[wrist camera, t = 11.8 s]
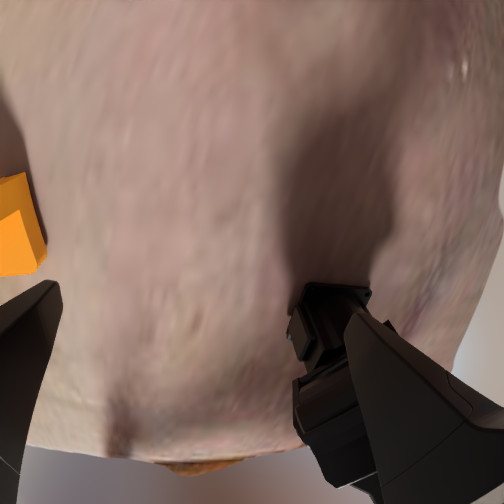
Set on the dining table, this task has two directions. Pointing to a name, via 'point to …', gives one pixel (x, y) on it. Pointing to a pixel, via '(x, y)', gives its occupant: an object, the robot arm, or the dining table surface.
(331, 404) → the robot arm
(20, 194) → the bracket
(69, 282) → the dining table surface
